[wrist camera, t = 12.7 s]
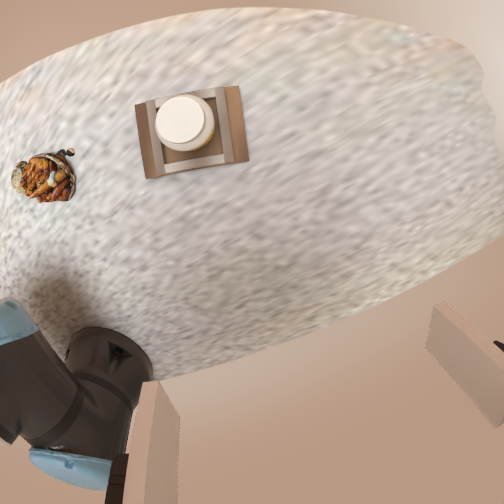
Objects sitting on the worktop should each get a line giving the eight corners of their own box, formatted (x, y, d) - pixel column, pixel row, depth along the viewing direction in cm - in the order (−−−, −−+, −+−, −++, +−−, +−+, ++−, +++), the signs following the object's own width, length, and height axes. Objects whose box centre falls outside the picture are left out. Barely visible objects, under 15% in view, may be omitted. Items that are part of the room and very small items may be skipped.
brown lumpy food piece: (13, 161, 29) (-1, 163, 25) (75, 145, 30) (63, 146, 26) (18, 207, 31) (4, 213, 28) (79, 198, 32) (67, 203, 29)
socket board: (148, 177, 32) (142, 180, 29) (138, 106, 29) (130, 103, 26) (247, 160, 33) (250, 161, 30) (237, 88, 30) (239, 82, 27)
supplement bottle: (215, 104, 29) (215, 86, 20) (214, 150, 31) (213, 150, 22) (168, 106, 28) (148, 90, 19) (167, 151, 30) (147, 153, 21)
